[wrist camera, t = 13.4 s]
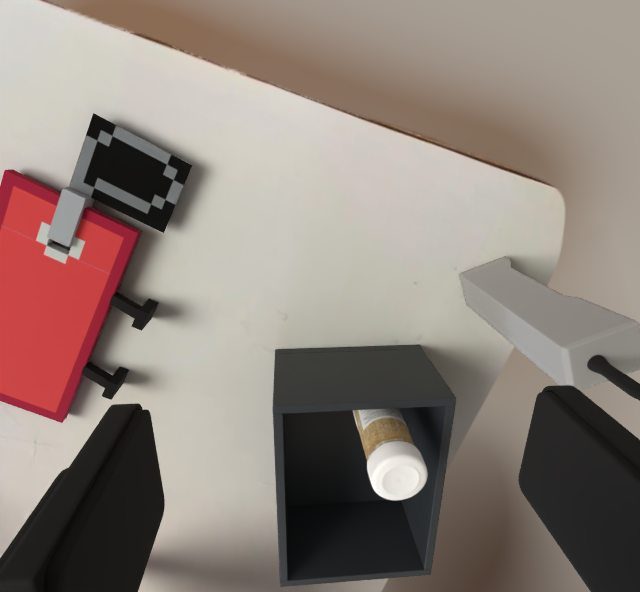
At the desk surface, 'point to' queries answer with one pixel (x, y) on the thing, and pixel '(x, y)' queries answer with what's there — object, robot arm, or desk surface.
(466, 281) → the vintage mobile phone
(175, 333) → the desk surface
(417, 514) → the wastebin
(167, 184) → the red board with handle
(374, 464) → the sprinkles bottle
